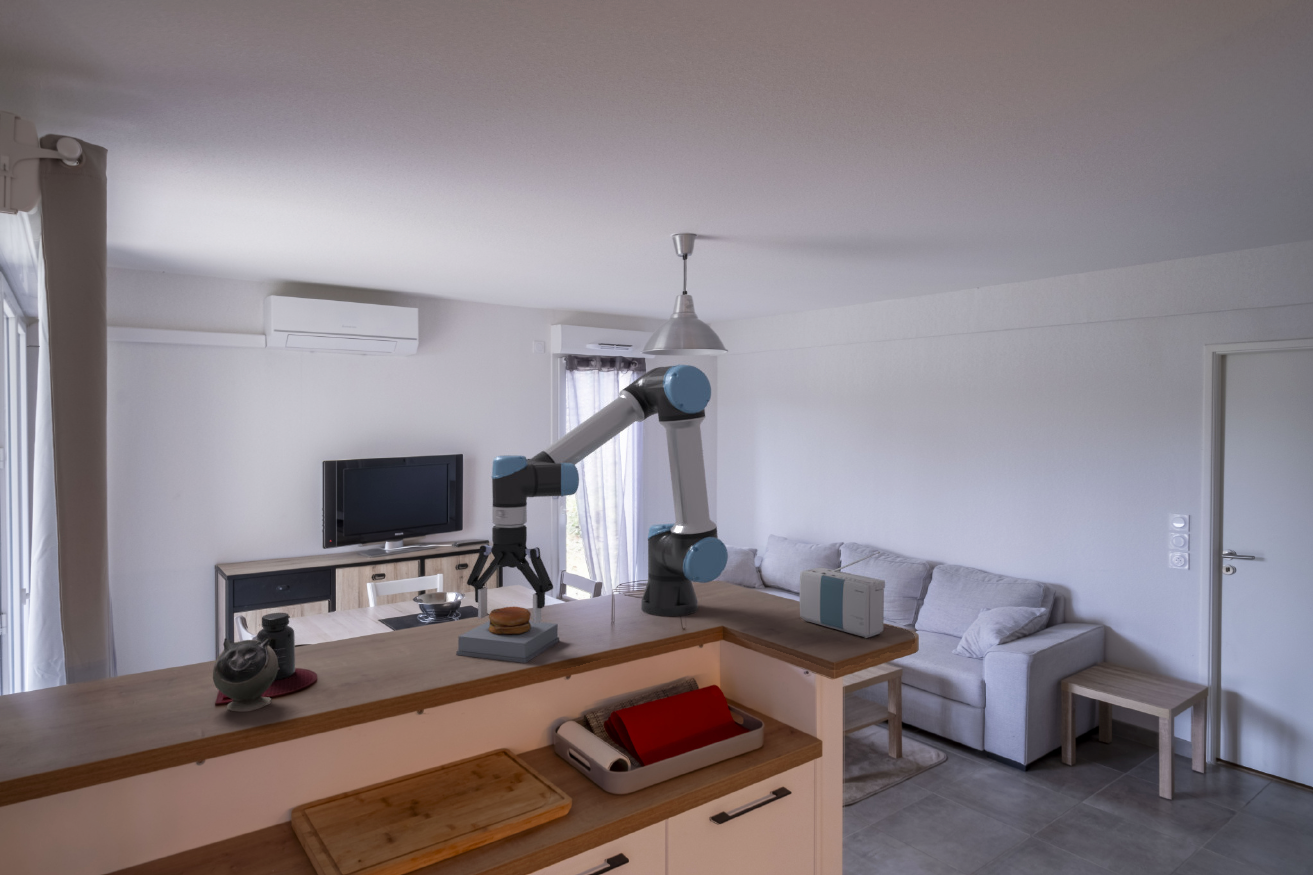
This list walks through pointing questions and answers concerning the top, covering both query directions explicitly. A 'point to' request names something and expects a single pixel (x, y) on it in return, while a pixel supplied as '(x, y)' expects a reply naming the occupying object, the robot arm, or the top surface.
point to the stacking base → (508, 642)
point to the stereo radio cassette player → (842, 600)
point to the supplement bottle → (280, 641)
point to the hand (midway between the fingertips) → (509, 619)
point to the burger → (509, 620)
